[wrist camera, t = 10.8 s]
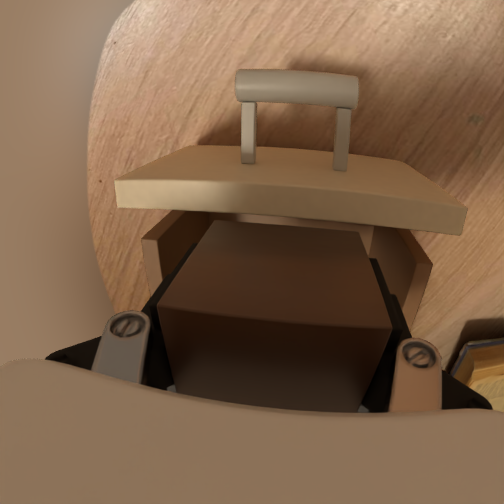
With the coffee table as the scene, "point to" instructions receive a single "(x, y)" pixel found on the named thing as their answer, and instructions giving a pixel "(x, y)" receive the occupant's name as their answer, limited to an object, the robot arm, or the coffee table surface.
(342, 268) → the block
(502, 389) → the book
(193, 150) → the drawer
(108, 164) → the coffee table surface
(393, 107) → the coffee table surface
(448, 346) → the coffee table surface
